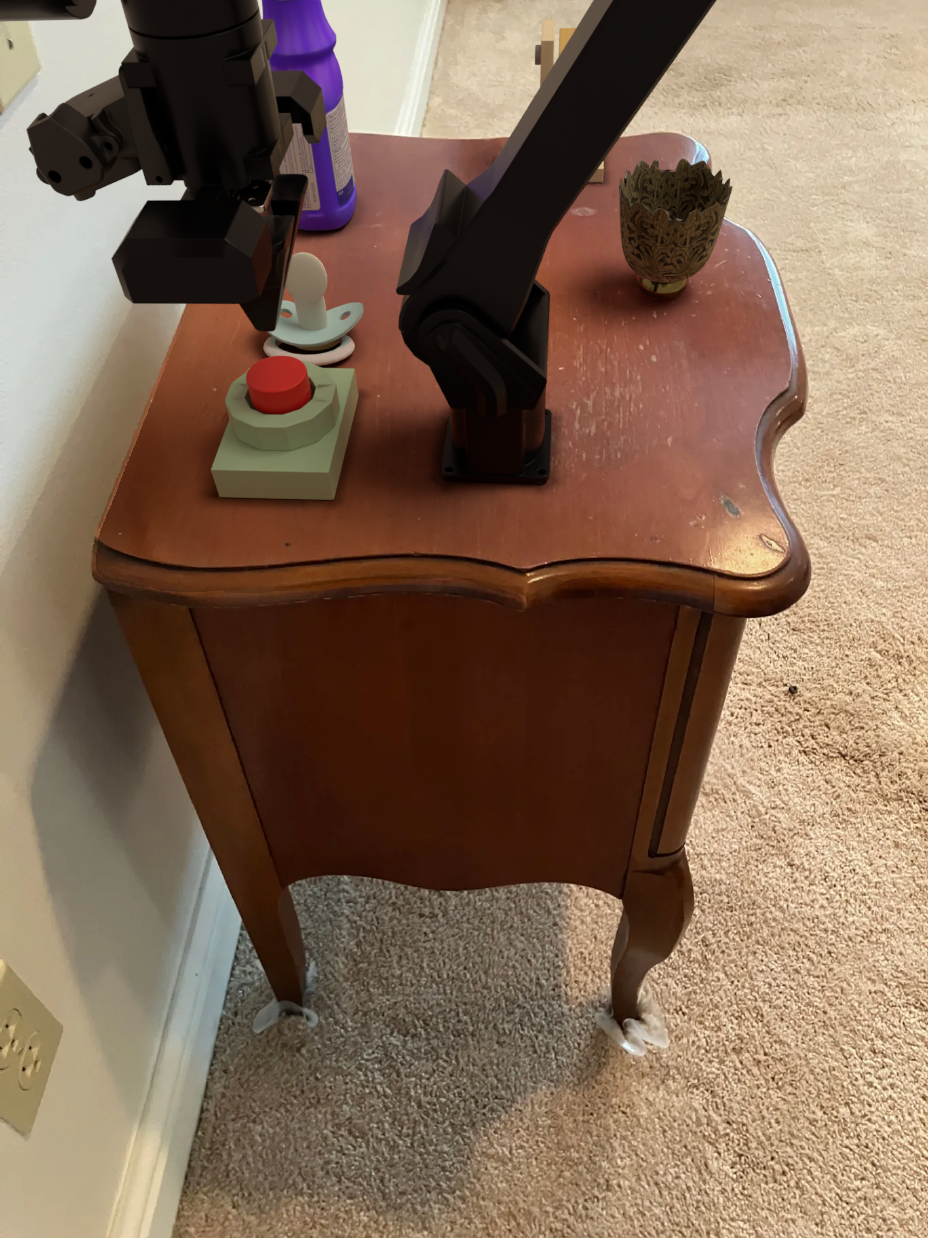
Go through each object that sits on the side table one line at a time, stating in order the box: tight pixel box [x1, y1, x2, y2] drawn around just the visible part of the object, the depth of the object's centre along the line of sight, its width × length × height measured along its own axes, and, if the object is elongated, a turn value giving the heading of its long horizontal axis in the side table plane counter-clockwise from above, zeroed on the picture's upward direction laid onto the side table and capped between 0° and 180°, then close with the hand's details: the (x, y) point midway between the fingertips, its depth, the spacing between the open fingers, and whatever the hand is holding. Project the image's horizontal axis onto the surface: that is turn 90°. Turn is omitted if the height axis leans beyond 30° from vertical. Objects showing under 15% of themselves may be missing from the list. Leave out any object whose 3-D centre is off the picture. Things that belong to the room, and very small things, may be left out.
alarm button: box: [246, 356, 311, 415], centre depth 56 cm, size 4×4×2 cm
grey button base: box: [210, 361, 360, 501], centre depth 58 cm, size 10×7×4 cm
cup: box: [618, 158, 733, 301], centre depth 66 cm, size 8×7×8 cm
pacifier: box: [263, 251, 364, 367], centre depth 64 cm, size 7×6×6 cm
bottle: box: [261, 0, 358, 231], centre depth 71 cm, size 7×6×17 cm
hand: (267, 327), depth 53 cm, fingers closed
